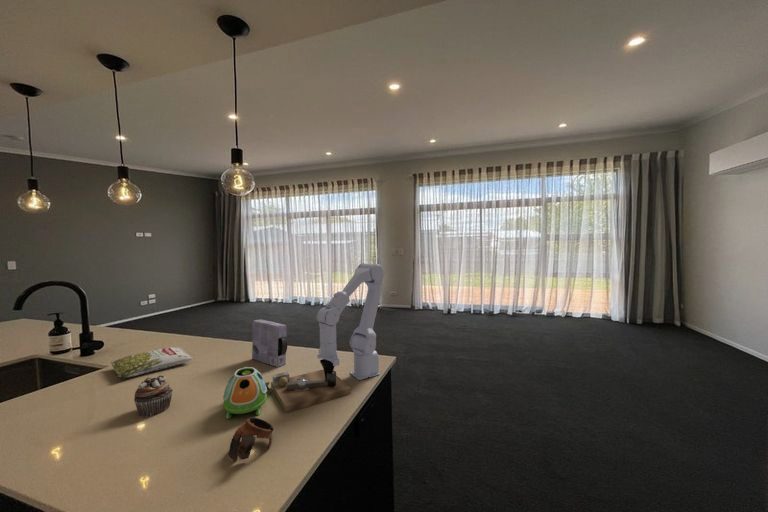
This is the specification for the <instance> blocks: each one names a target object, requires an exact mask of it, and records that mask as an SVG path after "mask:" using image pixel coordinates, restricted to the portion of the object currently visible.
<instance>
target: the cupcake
mask: <svg viewBox="0 0 768 512" xmlns="http://www.w3.org/2000/svg"><path fill="white" fill-rule="evenodd" d="M166 379H167V377H165V376H163V375H158V376H157V377H153V378H152V377H146V378H145V379H144V381H142V382H140V384H139V385H138V387H137V388H136V390H135V393H134V399H133V402H134V404H135V406H136V411H137V415H138V414H139V417H141V416H142V417H143V418H146V416H148V417H153V415H154V416H157V415H160V414H162V413H164V412H166V411H167V410H169V408H170V407H171V401H172V396H173V391H174V390H173V389H172V387H170V383H169V382H167V381H166Z"/></svg>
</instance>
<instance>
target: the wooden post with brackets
mask: <svg viewBox="0 0 768 512" xmlns="http://www.w3.org/2000/svg"><path fill="white" fill-rule="evenodd" d="M270 384H271V382H270V381H266V382H265V385H266V388H267V391H266V394H268V393H269V394H272V392H273V391H272V389H270V388H269V385H270Z"/></svg>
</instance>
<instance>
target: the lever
mask: <svg viewBox="0 0 768 512" xmlns="http://www.w3.org/2000/svg"><path fill="white" fill-rule="evenodd" d="M336 375H337V372H336V370H333V371H328V372H327V380H317V381H308V379H307V378H306V377H301V378H298V379H297V381H294V382H287V390H294V389H299V390H303V389H306V388H312V387H322V386H330V387H332V386H335V385H336Z"/></svg>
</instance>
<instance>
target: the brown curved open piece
mask: <svg viewBox="0 0 768 512" xmlns="http://www.w3.org/2000/svg"><path fill="white" fill-rule="evenodd" d="M274 430H275V429H274V427H273V425H272V424H271V423H269V422H268V421H266V420H264V419H261V418H258V417H253V416H252V417H248V418H247V419H246V421H245V422H244V423H243V424H241V425H240V426H238V427H237V429H236V430H235V431H234V433H233V435H232V438H231V442H230V444H229V450H228V457H229V458H230V460H232V461H234V462H237V461H238V458H239V459H240V460H246V459H249V457H250V454H251V452H252V450H253V448H254V445H255V443H256V438H257V439H268V441H269V442H268V445H267V448H268V449H270V448H271V447H272V446H271V445H272V442H273V431H274ZM255 436H256V437H255Z"/></svg>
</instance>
